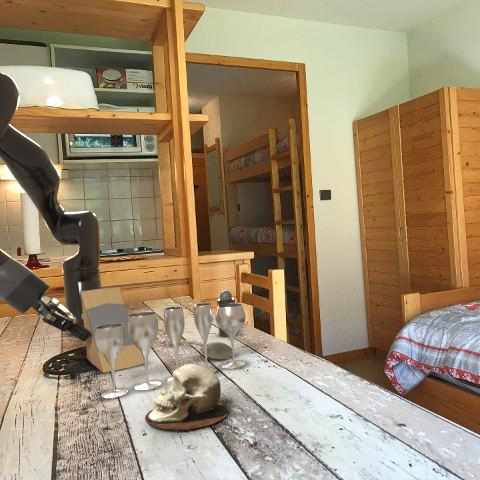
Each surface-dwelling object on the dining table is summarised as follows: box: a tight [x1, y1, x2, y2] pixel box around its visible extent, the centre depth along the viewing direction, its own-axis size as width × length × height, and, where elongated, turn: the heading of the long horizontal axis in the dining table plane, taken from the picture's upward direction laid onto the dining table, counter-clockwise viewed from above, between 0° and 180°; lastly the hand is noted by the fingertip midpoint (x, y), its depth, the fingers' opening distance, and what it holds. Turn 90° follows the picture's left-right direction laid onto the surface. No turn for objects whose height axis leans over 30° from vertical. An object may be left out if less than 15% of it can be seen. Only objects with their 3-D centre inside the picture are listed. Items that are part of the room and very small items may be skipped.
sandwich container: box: [81, 286, 145, 374], centre depth 110 cm, size 9×15×15 cm, turn 36°
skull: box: [144, 363, 229, 432], centre depth 77 cm, size 12×10×10 cm
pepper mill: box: [216, 289, 236, 338], centre depth 129 cm, size 4×4×11 cm
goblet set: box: [95, 302, 247, 400], centre depth 96 cm, size 28×6×13 cm, turn 126°
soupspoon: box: [169, 339, 232, 360], centre depth 115 cm, size 22×3×7 cm
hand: (88, 337), depth 108 cm, fingers closed
